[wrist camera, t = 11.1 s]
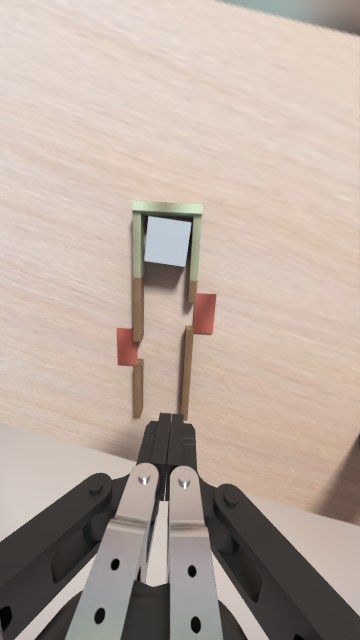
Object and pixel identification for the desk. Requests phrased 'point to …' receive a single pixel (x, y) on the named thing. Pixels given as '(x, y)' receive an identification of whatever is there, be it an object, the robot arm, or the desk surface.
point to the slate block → (167, 241)
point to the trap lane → (129, 337)
